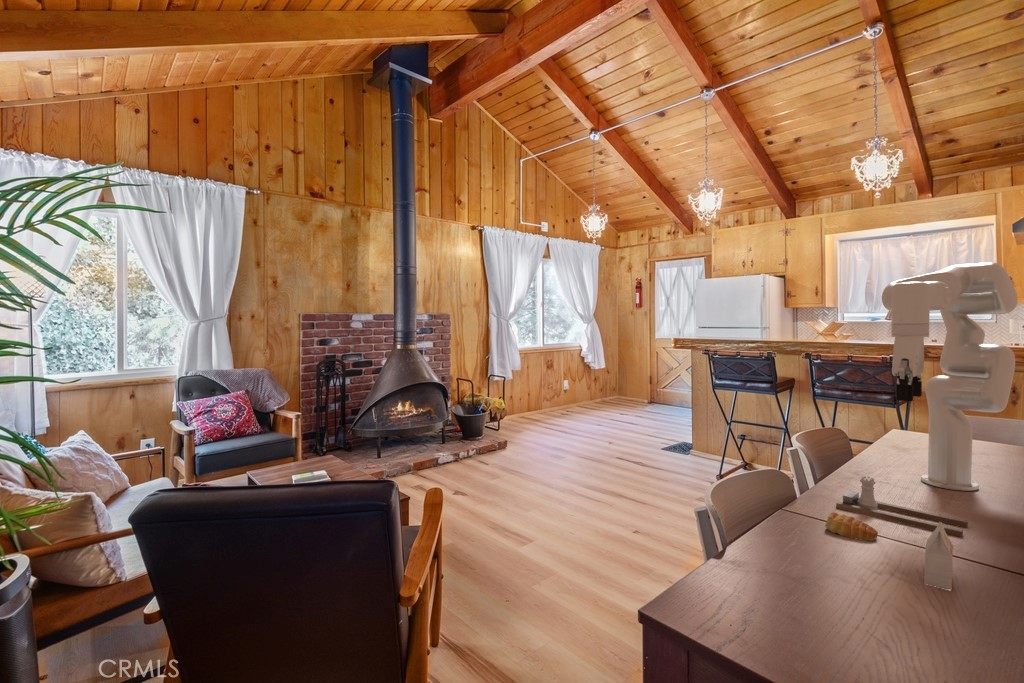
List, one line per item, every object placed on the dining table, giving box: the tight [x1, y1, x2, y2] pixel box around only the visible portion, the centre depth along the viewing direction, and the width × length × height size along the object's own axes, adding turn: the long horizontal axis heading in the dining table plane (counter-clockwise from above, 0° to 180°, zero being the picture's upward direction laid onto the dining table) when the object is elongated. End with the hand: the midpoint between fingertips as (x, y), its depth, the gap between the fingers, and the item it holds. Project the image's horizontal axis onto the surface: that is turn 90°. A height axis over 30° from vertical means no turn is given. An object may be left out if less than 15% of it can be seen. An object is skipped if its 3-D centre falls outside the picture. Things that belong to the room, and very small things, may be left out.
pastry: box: [824, 511, 879, 542], centre depth 112 cm, size 9×7×4 cm
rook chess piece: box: [857, 476, 879, 511], centre depth 127 cm, size 4×4×8 cm
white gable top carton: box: [923, 521, 954, 590], centre depth 92 cm, size 4×7×10 cm, turn 138°
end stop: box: [842, 490, 860, 506], centre depth 129 cm, size 6×2×3 cm, turn 132°
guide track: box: [835, 500, 969, 538], centre depth 122 cm, size 9×24×1 cm, turn 41°
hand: (909, 398), depth 128 cm, fingers open, 9 cm apart
